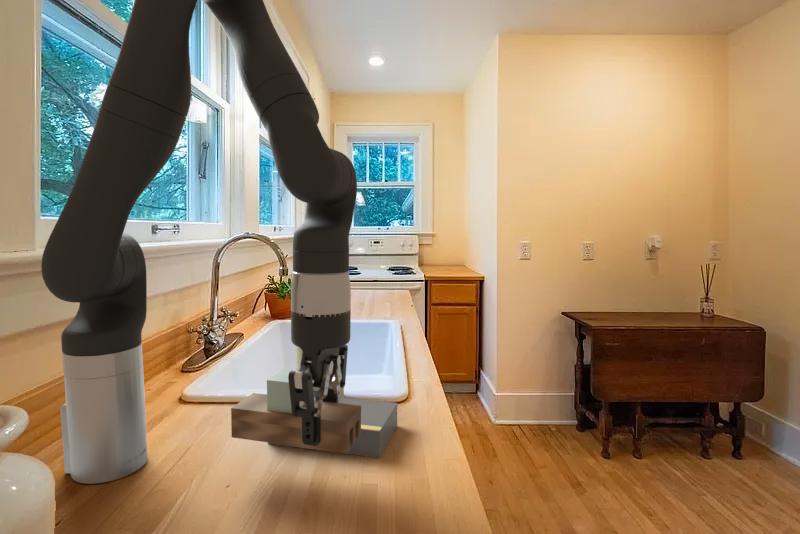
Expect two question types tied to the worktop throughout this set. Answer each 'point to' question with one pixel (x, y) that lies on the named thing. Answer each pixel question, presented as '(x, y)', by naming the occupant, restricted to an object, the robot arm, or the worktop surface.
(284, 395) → the pale green cube
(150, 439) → the worktop surface
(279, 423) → the board
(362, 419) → the dock
